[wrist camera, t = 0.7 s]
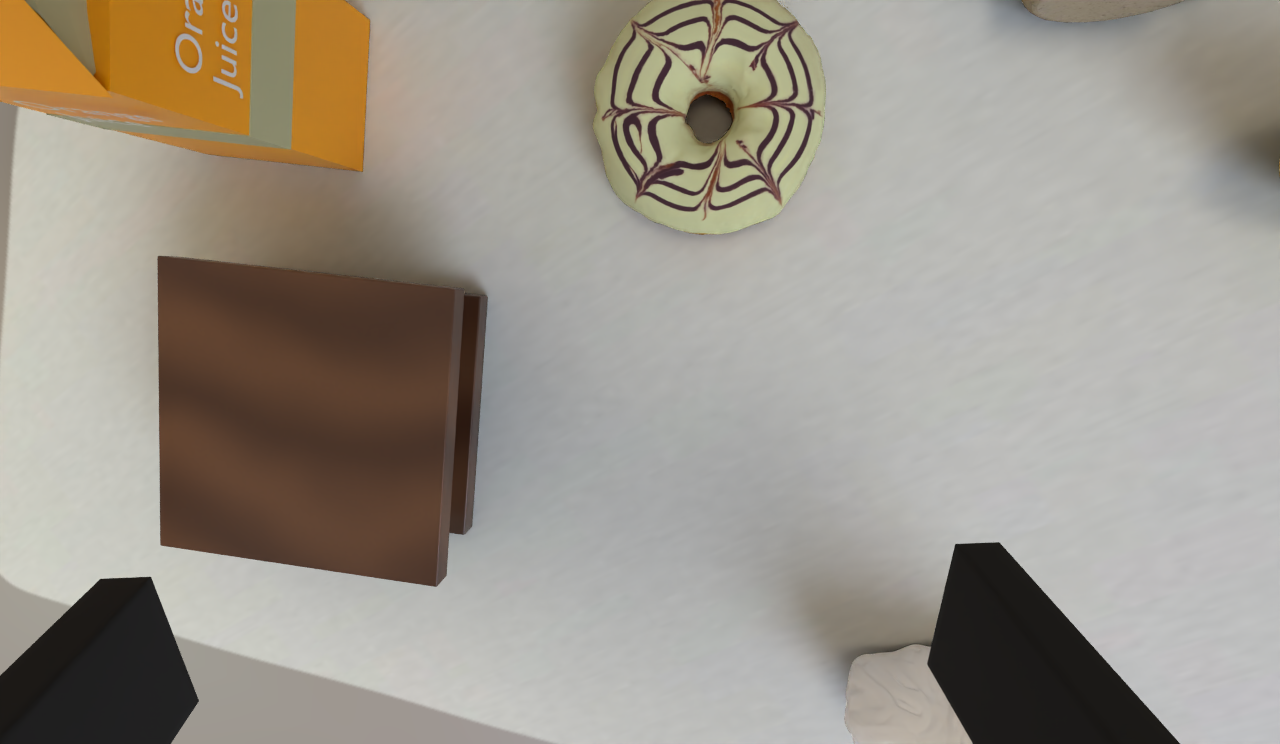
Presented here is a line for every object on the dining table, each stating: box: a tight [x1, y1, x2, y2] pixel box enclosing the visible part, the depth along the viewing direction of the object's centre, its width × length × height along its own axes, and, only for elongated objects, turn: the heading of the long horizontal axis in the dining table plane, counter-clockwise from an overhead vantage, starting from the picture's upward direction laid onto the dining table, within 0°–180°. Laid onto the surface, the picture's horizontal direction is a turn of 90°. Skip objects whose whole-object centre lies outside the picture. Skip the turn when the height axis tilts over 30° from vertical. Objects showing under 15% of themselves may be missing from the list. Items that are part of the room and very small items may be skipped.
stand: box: [158, 256, 488, 587], centre depth 32 cm, size 14×14×6 cm
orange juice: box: [0, 0, 370, 172], centre depth 23 cm, size 8×9×20 cm
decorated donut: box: [593, 0, 826, 235], centre depth 30 cm, size 10×11×4 cm
